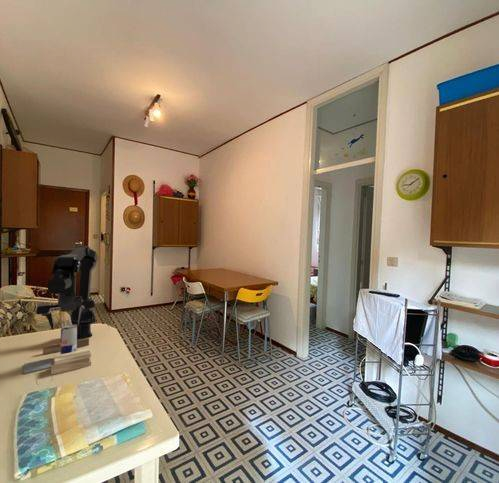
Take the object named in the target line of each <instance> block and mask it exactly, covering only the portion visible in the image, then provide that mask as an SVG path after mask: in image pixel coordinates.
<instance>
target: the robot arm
mask: <svg viewBox="0 0 499 483" xmlns="http://www.w3.org/2000/svg"><path fill="white" fill-rule="evenodd" d="M98 259H99V257H98V253H97V252H96V251H95V250H93V249H92V248H90V246H88V245H77V246H75V248H74V249H73V250H72V251H71V252H69V253H68V254H62V255H59V256H58V257H56V259H55V260H54V263H53V266H52V268H51V269H52V270H51V273H50V275H51V276H53V278H51V279H50V280H48V282H47V284H46V288H47V291H49V292H50V293H52V294H54V295H55V294H57V303H56V304H50V302H43V303H37V304H36V307H35V308H36V310H35V313H36V315H41V316H42V317H43V316H44V317H46V319H47V321H48V323H49V327H50V328H51V330H54V322H53V315H52V314H53V313H52V310H54V311H55V310H60V312H62V313H64V312H68V311H69V312H70V311H71V315H70V318H71V325H76V327H77V340H79V339H85V338H90V337H92V336H93V332H92V330H91V329H92V328H91V325H92V324H93V323H96V314H95V311H94V310H93V309H94V308H96V307H95V306H96V305H95V303H96V302H95V300H94V299H93V298H90V296H91V295H90V294H91V283H92V282H91V281H92V272H93V270H94V269H95V268H96V266H97V262H98ZM79 270H80V271H79ZM79 272H80V274H79V287H78V295H76V287H77V286H76V285H77V273H79Z"/></svg>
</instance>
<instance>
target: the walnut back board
mask: <svg viewBox="0 0 499 483" xmlns="http://www.w3.org/2000/svg"><path fill="white" fill-rule="evenodd" d="M89 345H90V337H84V338H79V339H77V348H78V349H79V348H82V347H83V348H84V347H86V346H89ZM57 352H61V342H59V343H54V344H48V345H43V346H42V355H48V354H52V353H57Z"/></svg>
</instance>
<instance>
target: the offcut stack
mask: <svg viewBox="0 0 499 483" xmlns="http://www.w3.org/2000/svg"><path fill="white" fill-rule="evenodd" d="M91 358H92V353H91V351H90V349H89V348H87V349H86V348H85V349H81V350H77V351H75V352H71V353H66V354H61V355H60V354H57V355H54V356H53V360H52V361H51V368H50V374H51V375H52V376H53V375H55V374H60V373H64V372H69V371H72V370H76V369H81V368H85V367H88V366H92V361H91Z"/></svg>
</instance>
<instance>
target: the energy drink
mask: <svg viewBox="0 0 499 483" xmlns="http://www.w3.org/2000/svg"><path fill="white" fill-rule="evenodd" d="M77 340H78V339H77V324H73V325H72V324H69V325H64V326H62V327H61V329H60V343H61V351H59V352H60V353H59V355H61V354H66V353H71V352H75V351H78V349H77Z"/></svg>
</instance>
